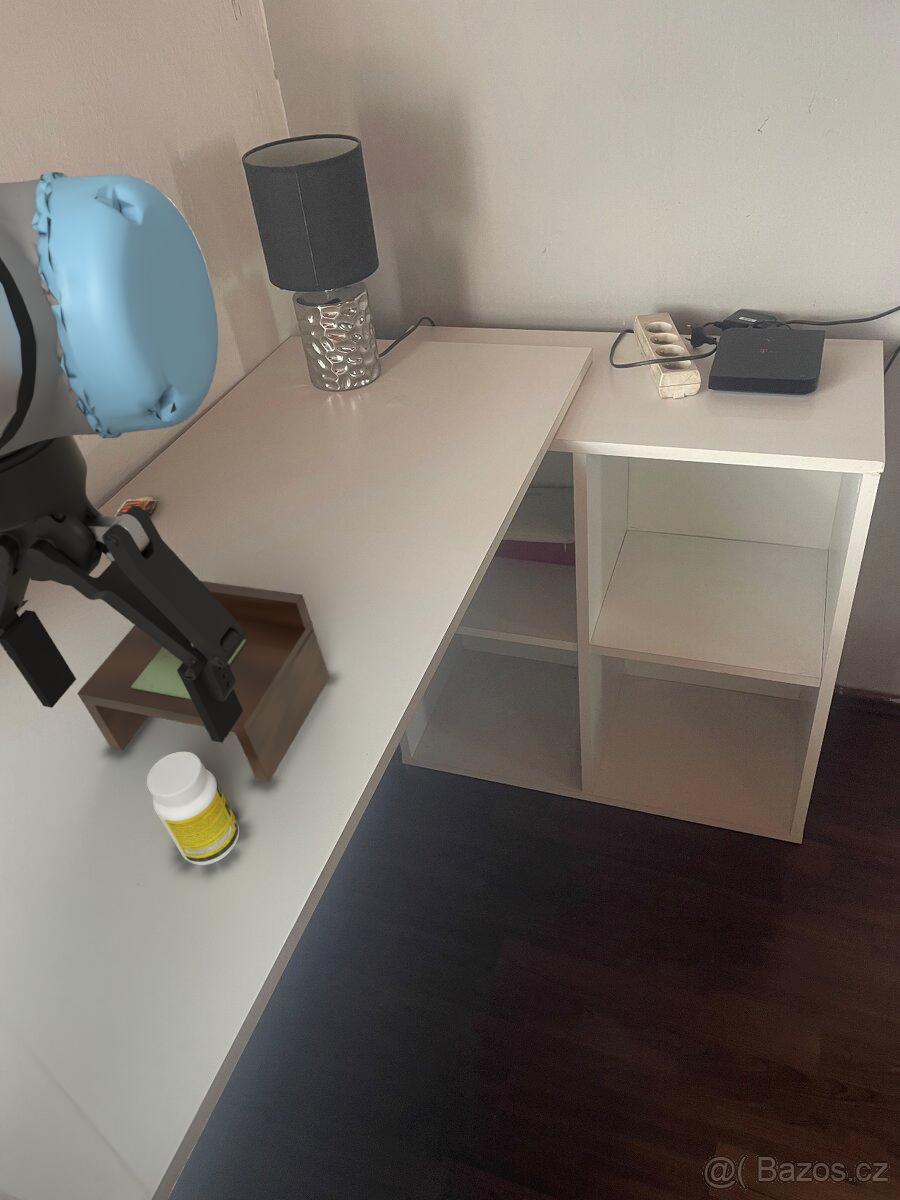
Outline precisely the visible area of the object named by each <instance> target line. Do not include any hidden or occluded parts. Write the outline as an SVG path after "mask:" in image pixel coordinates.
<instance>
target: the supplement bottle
mask: <svg viewBox="0 0 900 1200" xmlns="http://www.w3.org/2000/svg"><path fill="white" fill-rule="evenodd" d="M146 787H147V789H148V791H149V793H150V794H151V797H152V806H153V809H154V812H155V814H156V815H157V817H158V818H159V820H160V821H161V824H162V825H163V827H164V828H165V830H166V832H167V834H168V835H169V837H170V838H171V840H172V842H173V843H174V845H175V847H176V848H177V850H178V852H179V853H180V855H181V857H182V858H183V859H184V860H185V861H187V862H189V863H191V864H193V865H196V866H197V865H198V866H207V865H212V864H214V863H217V862H218V861H220V860H222V859H223V858H225V857H226V856H228V855H229V853H231V851H233V849H234V848H235V846H236V844H237V843H238V840H239V838H240V826H239V822H238V819H237V818H236V816H235V814H234V812H233V811H232V808H231V806H230V805H229V802H228V800H227V799H226V796H225V794H224V793H223V791H222V788H221V787H220V785H219V782H218V780H217V778H216V776H214V774H213V773H212V772H211V771H210V770H208V769H206V767H205V765H204V764H203V763H202V761H201V759H200V758H199V756H198V755H196V754H195V753H193V752H190V751H182V750H181V751H176V752H175V751H174V752H172V753H168V754H167V755H165V756H163V757H162V758H160V759H159V760H157V761H156V762H155V764H153V766H152V767H151V768H150V770H149V772H148V774H147V777H146Z"/></svg>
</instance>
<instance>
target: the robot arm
mask: <svg viewBox="0 0 900 1200" xmlns="http://www.w3.org/2000/svg"><path fill="white" fill-rule="evenodd" d="M218 348H219V326H218V315H217V310H216V302H215V296H214V292H213V285H212V280H211V277H210V273H209V269H208V265H207V262H206V259H205V257H204V254H203V250H202V249H201V246H200V244H199V242H198V238H197V237H196V235H195V233H194V231H193V229H192V227H191V226H190V224H189V222H188V221H187V219H186V218H185V216H184V215H183V213H182V212H181V210H180V209H179V208H178V206H176V205H175V203H174V202H173V201H172V200H171V199H170V198H169V197H168V196H167V195H166V194H165V193H163V192H162V191H161V190H160V189H159V188H158V187H156V186H155V185H154V184H152V183H150V182H149V181H147V180H145V179H143V178H140V177H137V176H134V175H129V174H124V173H123V174H121V173H119V174H118V173H113V174H112V173H111V174H99V175H98V174H97V175H82V176H80V175H79V176H69V175H66V174H65V173H63V172H59V171H58V172H57V171H53V172H47V173H42V174H41V175H40V177H39V178H38V179H31V180H25V181H24V180H23V181H14V182H0V646H1V647H2V648H3V650H4V652H6V654H7V656H8V658H9V659H11V661H12V662H13V663H14V665H15V666H16V668H17V669H18V671H19V672H20V674H21V675H22V677H23V678H24V680H25V681H26V683H27V684H28V686H29V687H30V688H31V690H32V691H33V693H34V695H35V696H36V698H37V699H38V700H39V702H40V703H41V705H42V706H43V707H46V708H50V709H53V708H54V706H55V705H56V704H57V703H58V702H59V701H60V699H61V698H62V697H63V696H64V695H65V693H66V692H67V691H68V690H69V689H70V688H71V686H72V685H73V684H74V683H75V682H76V680H77V677H76V676H75V674H74V673H73V671H72V670H71V668H70V666H69V664H68V663H67V661H66V660H65V658H64V657H63V655H62V653H61V651H60V650H59V648H58V647H57V645H56V644H55V642H54V640H53V639H52V637H51V636H50V634H49V632H48V631H47V628H46V627H45V626H44V624H43V622H42V621H41V619H40V617H39V616H38V615H37V613H36V611H35V610H30V609H29V610H28V609H25V610H24V611H23V612H22V613H21V614H20V615H19V614H18V612H19V611H20V610H21V609H22V608H23V607H24V606H25V605H26V604H27V603H28V602H29V599H26V598H25V596H26V594H27V590H28V586H29V583H30V581H35V582H42V583H43V582H49V581H52V582H54V583H58V584H60V585H64V586H69V587H71V588H73V589H75V591H77V592H78V593H80V594H81V595H82V596H84V597H85V598H86V599H88V600H90V601H96V600H102V601H103V602H104V603H106V604H107V605H108V606H109V607H111V608H112V609H113V610H115V611H116V612H118V613H119V615H121V616H123V617H124V619H126V620H128V621H129V622H130V623H131V624H133V626H137V627H138V628H139V629H141V630H142V631H143V632H144V633H146V634H147V635H148V636H150V637H151V638H152V639H153V640H155V641H156V642H157V643H159V644H160V645H161V646H162V647H164V648H165V649H166V650H168V651H169V652H170V653H171V654H173V655H174V656H175V657H177V658H178V659H179V660H180V661H182V662H183V663H182V664H181V665H180V667H179V668H178V669H177V671H178V673H179V675H180V677H181V679H182V681H183V683H184V685H185V687H186V689H187V691H188V693H189V695H190V697H191V699H192V701H193V703H194V705H195V707H196V709H197V711H198V713H199V715H200V717H201V719H202V721H203V723H204V725H205V727H204V728H205V729H206V732H207V734H208V735H209V738H210V739H211V741H212V742H215V743H220V744H223V743H224V741H225V740H226V738H227V736H228V735H229V733H231V732H230V730H231V729H232V727H233V726H234V724H235V723H236V721H237V720H238V718H239V717H240V715H241V713H242V712H243V709H242V707H241V705H240V703H239V700H238V698H237V696H236V694H235V691H234V689H233V688H234V687H235V685H236V679H235V677H234V675H233V672H232V670H231V668H230V666H229V663H228V662H229V660H230V659H231V657H232V656H233V655H234V653H235V652H236V650H237V649H238V647H239V646H240V644H241V643H242V642H243V640H244V639H245V637H246V635H247V633H246V631H245V629H244V628H243V627H242V626H241V625H240V624H239V623H238V622H237V620H236V619H235V618H234V617H233V616H232V615H231V614H230V613H229V612H228V611H227V610H226V608H225V607H224V606H223V605H222V604H221V603H220V602H219V601H218V600H217V599H216V598H215V597H214V595H213V594H212V593H211V592H210V591H209V590H208V589H207V588H206V587H205V586H204V585H203V583H202V582H201V581H202V580H200V579H199V578H198V577H197V576H196V575H195V573H193V571H192V570H191V569H190V568H189V567H188V566H187V565H186V563H184V561H183V560H181V558H180V557H179V556H178V555H177V554H176V553H175V552H174V551H173V550H172V549H171V547H170V546H169V545H168V544H167V543H166V542H165V541H164V540H163V538H162V537H161V535H160V533H159V531H158V530H157V527H156V526H155V525H154V523H153V521H152V519H151V517H150V514H149V515H148V514H147V513H146V511H145V510H144V509H142V508H141V507H139V506H135V505H134V506H131V507H130V508H129V509H128V510H127V511H126V512H125V513H124V514H123V515H122V516H114V515H103V513H102V512H101V511H100V510H99V509H98V508H97V507H96V506H95V505H94V504H93V502H92V501H91V500H90V499H89V497H88V495H87V476H88V475H87V474H88V465H87V461H86V459H85V457H84V454H83V453H82V451H81V448H80V447H79V445H78V443H77V440H76V438H75V436H85V435H86V436H89V435H98V436H99V437H100V438H102V439H117V438H119V437H122V435H123V434H128V433H135V432H143V431H151V430H161V429H167V428H172V427H174V426H177V425H180V424H181V423H185V422H186V421H187V420H189V419H190V418H191V417H192V416H193V415H194V414H195V413H197V411H198V410H199V409H200V407H201V406H202V404H203V402H204V401H205V399H206V397H207V396H208V394H209V392H210V389H211V386H212V383H213V382H214V381H213V380H214V377H215V373H216V368H217V362H218V353H219V352H218V350H219V349H218ZM103 554H104V555H105V557H106V559H108V561H110V564H109V565H107V567H106V568H105V569H104V570H103V572H101V574H100V575H99V576H97V577H93V576H92V575H90V574H91V573H92V572H93V571H94V570H95V569H96V568H97V566H98V565H99V564H100V562H101V559H102V555H103ZM25 599H26V600H25ZM191 643H192V644H193V645H194V646H193V647H192V645H191Z"/></svg>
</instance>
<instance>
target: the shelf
mask: <svg viewBox="0 0 900 1200" xmlns="http://www.w3.org/2000/svg"><path fill="white" fill-rule="evenodd" d="M200 581H201V582H202V583H203V585H204V586H205V587H206V588H207V589H208V590H209V591H210V592H211V593H212V594H213V595H214V597H215V598H216V599H217V600H218V601H219V602H220V603H221V604H222V605H223V606H224V607H225V608H226V610H227V611H228V612H229V613H230V614H231V615H232V616H233V617H234V618H235V619H236V620H237V622H238V623H239V624H240V625H241V626H242V627H243V628H244V629H245V631H246V633H247V635H246V637H245V639H244V640H243V642H242V643H241V644H240V646H239V647H238V649H237V650H236V652H235V653H234V655H233V656H232V657H231V659H230V660H229V662H228V663H229V666H230V668H231V670H232V672H233V675H234V677H235V679H236V685H235V687H234V688H233V689H234V691H235V694H236V696H237V698H238V700H239V703H240V705H241V707H242V709H243V712H242V713H241V715H240V717H239V718H238V720H237V721H236V723H235V724H234V726H233V727H232V729H231V730H230V732H229V733H232V734H233V733H234V734H235V736H236V738H237V740H238V742H239V744H240V747H241V749H242V751H243V753H244V756H245V757H246V760H247V762H248V764H249V766H250V769H251V771H252V773H253V776H254V777H255V779H256V780H257V781H261V782H265V783H270V781H271V779H272V778H273V776H274V774H275V772H276V771H277V769H278V767H279V765H280V764H281V762H282V761H283V758H284V757H285V755H286V754H287V752H288V750H289V748H290V747H291V745H292V744H293V741H294V740H295V738H296V737H297V735H298V733H299V731H300V729H301V728H302V726H303V724H304V722H305V721H306V720H307V717H308V716H309V714H310V712H311V711H312V709H313V707H314V705H315V704H316V702H317V701H318V698H319V697H320V695H321V693H322V692H323V690H324V689H325V687H326V685H327V683H328V682H329V680H330V673H329V671H328V669H327V666H326V662H325V659H324V656H323V652H322V650H321V646H320V643H319V641H318V638H317V634H316V632H315V628H314V625H313V622H312V619H311V616H310V612H309V609H308V606H307V604H306V601H305V597H304V594H303V593H298V592H289V591H281V590H275V589H266V588H259V587H251V586H245V585H244V586H243V585H237V584H230V583H229V584H228V583H221V582H213V581H207V580H200ZM191 645H192V647H193V646H194V645H193V644H192V643H191ZM182 663H183V662H182V661H180V660H179V659H178V658H177V657H175V656H174V655H173V654H171V653H170V652H169V651H168V650H166V649H165V648H164V647H162V646H161V645H160V644H159V643H157V642H156V641H155V640H153V639H152V638H151V637H150V636H148V635H147V634H146V633H144V632H143V631H142V630H141V629H139V628H138V627H137V626H135V625H133V626H132V628H131V629H130V630H129V631H128V632H127V634H125V636H124V637H123V638H122V640H121V641H120V642H119V643H118V644H117V645H116V647H114V648H113V650H112V651H111V652H110V653H109V655H108V656H107V657H106V658H105V660H104V661H103V662H102V663H101V664H100V665H99V666H98V667H97V669H96V670H95V671H94V673H93V674H92V675H91V676H90V677H89V678H88V680H86V682H85V683H84V684H83V685H82V687H81V688H80V689H79V690H78V691H77V693H76V694H77V695H78V697H79V699H80V700H81V702H82V704H83V705H84V706H85V708H86V710H87V711H88V713H89V714H90V717H91V718H92V719H93V721H94V723H95V724H96V726H97V728H98V729H99V731H100V732H101V734H102V736H103V737H104V739H105V741H106V742H107V744H108V746H109V747H110V748H111V749H114V750H118V751H123V750H124V748H125V747H126V745H127V744H129V742H130V740H131V739H132V738H133V737H134V736H135V734H136V732H137V731H138V730H139V728H140V727H141V726H142V724H143V723H144V722H145V720H146V719H147V718H148V717H154V718H158V719H163V720H167V721H168V720H169V721H173V722H179V723H183V724H188V725H193V726H199V727H203V728H206V727H205V725H204V723H203V721H202V719H201V717H200V715H199V713H198V711H197V709H196V707H195V705H194V703H193V701H192V699H191V697H190V695H189V693H188V691H187V689H186V687H185V685H184V683H183V681H182V679H181V677H180V675H179V673H178V671H177V669H178V668H179V667H180V665H181V664H182Z"/></svg>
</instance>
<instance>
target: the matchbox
mask: <svg viewBox="0 0 900 1200" xmlns="http://www.w3.org/2000/svg"><path fill="white" fill-rule="evenodd" d="M134 505H135V506H139V507H141V508H142V509H144V510H145V511H146V513H147V514H148V515H149V516H150V515H151V514H152V512H153V510H154V509H155V507H156V506H157V499H154V496H150V495H147V496H142V497H137V498H136V499H130V498H129V499H125V500H124V502H123V503H122V504H121V505H120V508H118V509H116V511H117V512H116V513H115V514H114V515H113V516H122V515H123V514H124V513H125V512H126V511H127V510H128V509H129V508H130V507H131V506H134Z"/></svg>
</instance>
